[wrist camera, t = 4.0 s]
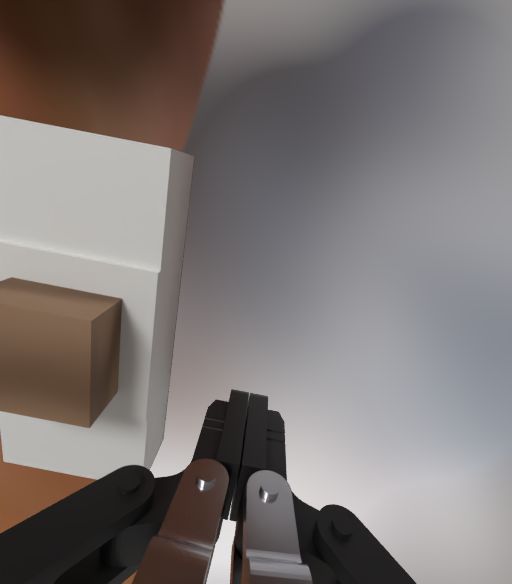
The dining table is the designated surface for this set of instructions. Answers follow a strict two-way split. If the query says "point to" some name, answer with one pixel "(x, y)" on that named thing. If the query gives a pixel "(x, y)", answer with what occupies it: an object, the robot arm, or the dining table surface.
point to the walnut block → (57, 351)
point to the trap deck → (97, 275)
